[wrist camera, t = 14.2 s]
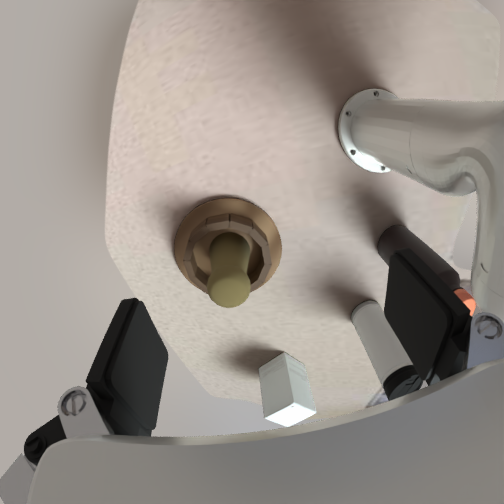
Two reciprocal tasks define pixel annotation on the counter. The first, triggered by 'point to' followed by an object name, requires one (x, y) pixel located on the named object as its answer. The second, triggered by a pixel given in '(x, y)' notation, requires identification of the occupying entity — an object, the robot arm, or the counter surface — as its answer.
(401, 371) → the travel mug
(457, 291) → the bottle
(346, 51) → the counter surface
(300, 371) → the supplement box
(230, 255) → the olive knobbed pestle
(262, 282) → the collar stand
